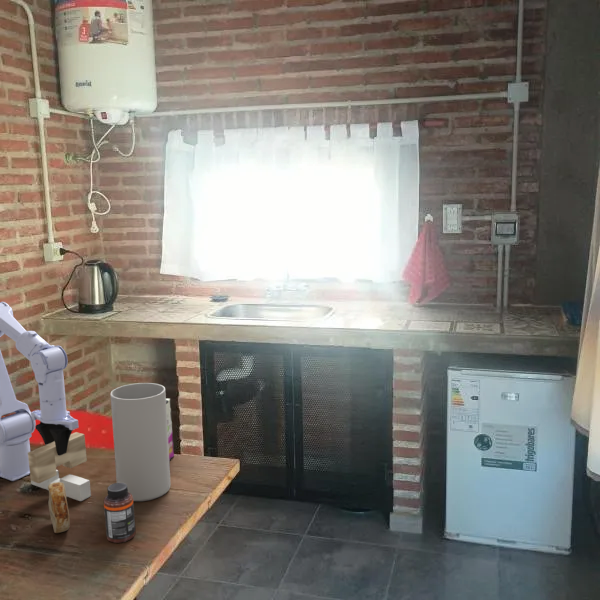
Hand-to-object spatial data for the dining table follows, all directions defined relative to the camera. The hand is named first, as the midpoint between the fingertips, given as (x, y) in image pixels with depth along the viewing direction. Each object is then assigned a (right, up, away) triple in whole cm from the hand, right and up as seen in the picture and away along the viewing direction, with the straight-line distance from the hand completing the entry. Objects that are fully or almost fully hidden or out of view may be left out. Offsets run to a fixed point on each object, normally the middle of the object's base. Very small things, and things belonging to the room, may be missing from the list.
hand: (57, 452), depth 160 cm
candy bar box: (+21, -7, +16) cm, 27 cm away
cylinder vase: (+21, -10, +1) cm, 23 cm away
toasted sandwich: (+7, -13, -16) cm, 22 cm away
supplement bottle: (+21, -13, -20) cm, 32 cm away
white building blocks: (0, -10, +2) cm, 10 cm away
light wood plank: (0, -5, +1) cm, 5 cm away
